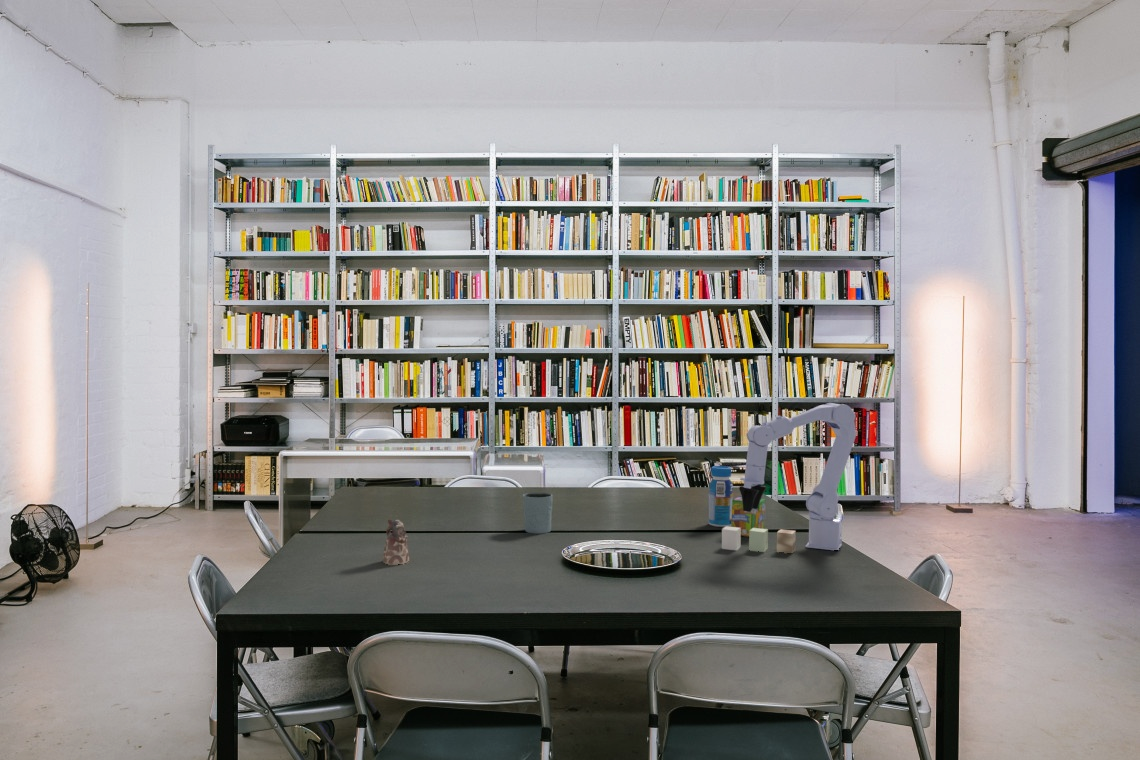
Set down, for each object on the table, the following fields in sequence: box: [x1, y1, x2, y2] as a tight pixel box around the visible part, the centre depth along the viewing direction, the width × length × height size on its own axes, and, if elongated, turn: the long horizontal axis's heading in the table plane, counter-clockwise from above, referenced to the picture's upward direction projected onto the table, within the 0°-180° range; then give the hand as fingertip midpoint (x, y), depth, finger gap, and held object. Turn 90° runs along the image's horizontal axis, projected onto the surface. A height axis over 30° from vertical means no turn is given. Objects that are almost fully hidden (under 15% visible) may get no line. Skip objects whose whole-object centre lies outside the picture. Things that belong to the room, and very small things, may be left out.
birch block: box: [776, 528, 797, 554], centre depth 228 cm, size 4×4×6 cm
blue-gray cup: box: [522, 492, 554, 534], centre depth 254 cm, size 10×10×12 cm
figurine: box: [382, 518, 410, 566], centre depth 214 cm, size 7×7×12 cm
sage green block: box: [748, 528, 769, 553], centre depth 230 cm, size 4×4×6 cm
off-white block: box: [721, 526, 742, 551], centre depth 232 cm, size 4×4×6 cm
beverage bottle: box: [708, 465, 734, 528], centre depth 264 cm, size 8×8×20 cm
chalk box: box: [730, 495, 767, 538], centre depth 250 cm, size 9×9×15 cm
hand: (750, 509), depth 231 cm, fingers open, 7 cm apart
